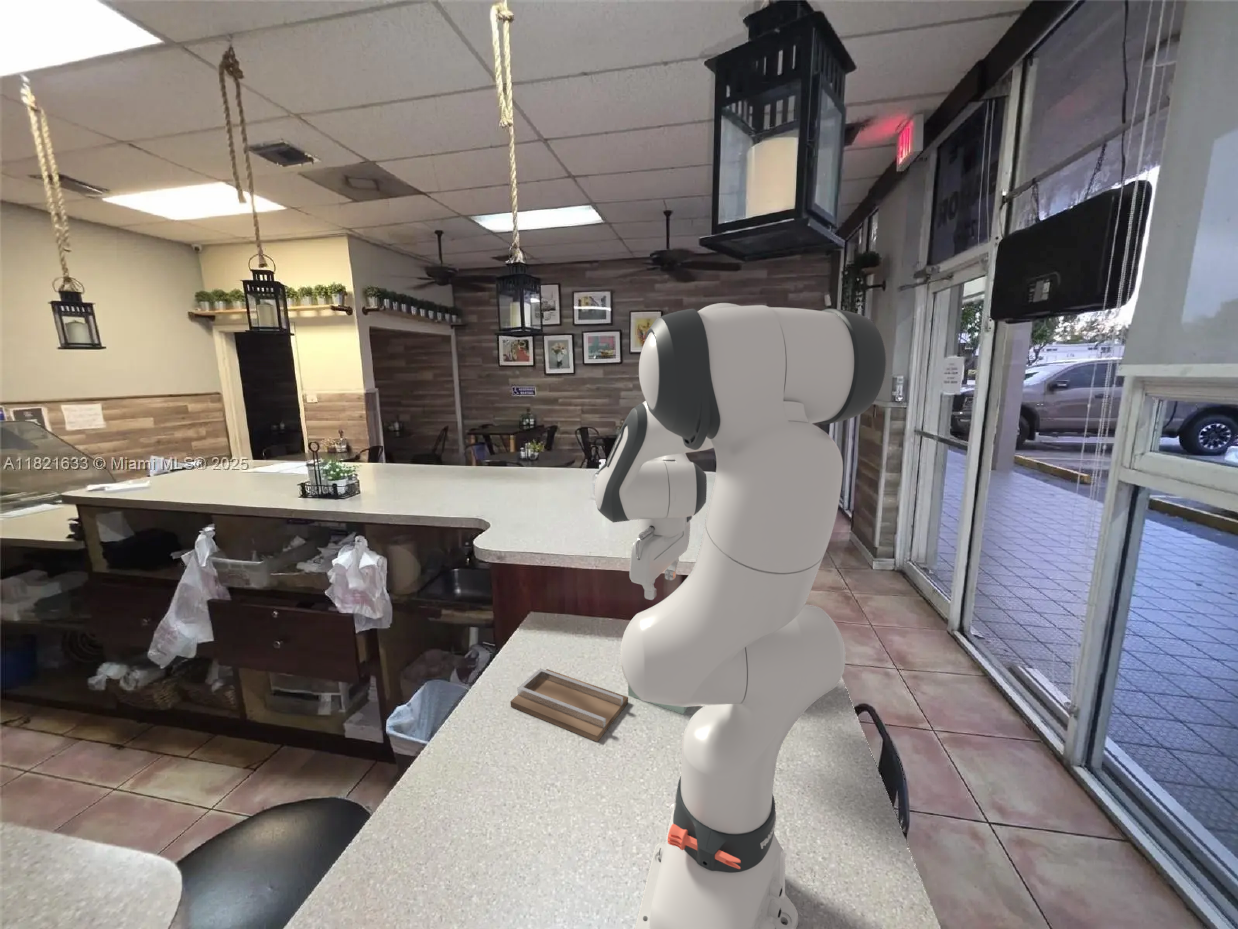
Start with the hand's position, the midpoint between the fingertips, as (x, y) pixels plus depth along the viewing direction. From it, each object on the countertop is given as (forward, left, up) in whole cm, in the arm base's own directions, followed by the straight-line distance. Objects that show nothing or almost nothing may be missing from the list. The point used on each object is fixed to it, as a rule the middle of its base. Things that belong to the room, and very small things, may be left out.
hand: (660, 588), depth 95 cm
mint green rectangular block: (0, 0, -24) cm, 24 cm away
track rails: (-10, +15, -23) cm, 29 cm away
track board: (-10, +15, -24) cm, 30 cm away
